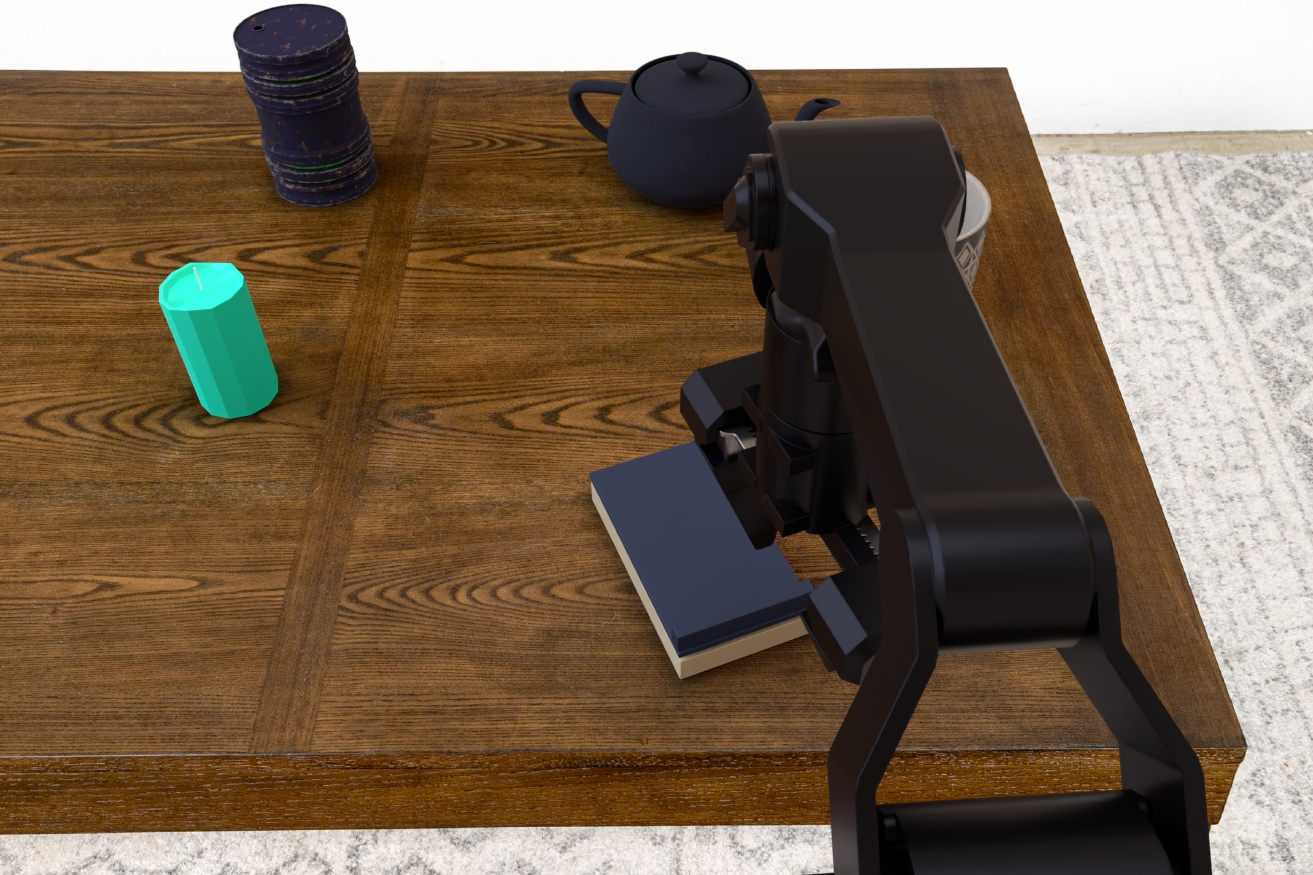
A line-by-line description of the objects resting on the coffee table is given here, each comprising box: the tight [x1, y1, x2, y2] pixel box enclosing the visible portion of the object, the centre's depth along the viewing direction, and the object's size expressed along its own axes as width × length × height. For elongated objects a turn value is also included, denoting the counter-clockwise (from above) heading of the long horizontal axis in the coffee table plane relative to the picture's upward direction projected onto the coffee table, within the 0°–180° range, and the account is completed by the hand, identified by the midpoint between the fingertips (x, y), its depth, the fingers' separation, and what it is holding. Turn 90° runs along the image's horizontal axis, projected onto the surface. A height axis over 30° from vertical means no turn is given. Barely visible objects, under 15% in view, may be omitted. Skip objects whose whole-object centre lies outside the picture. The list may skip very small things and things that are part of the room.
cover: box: [588, 440, 816, 658], centre depth 76 cm, size 16×9×2 cm, turn 22°
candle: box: [158, 262, 279, 419], centre depth 86 cm, size 6×6×12 cm
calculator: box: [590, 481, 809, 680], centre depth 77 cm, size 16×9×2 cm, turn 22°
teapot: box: [567, 51, 842, 210], centre depth 106 cm, size 25×16×12 cm, turn 75°
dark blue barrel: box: [232, 3, 379, 208], centre depth 105 cm, size 10×10×15 cm
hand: (798, 603), depth 61 cm, fingers open, 8 cm apart
